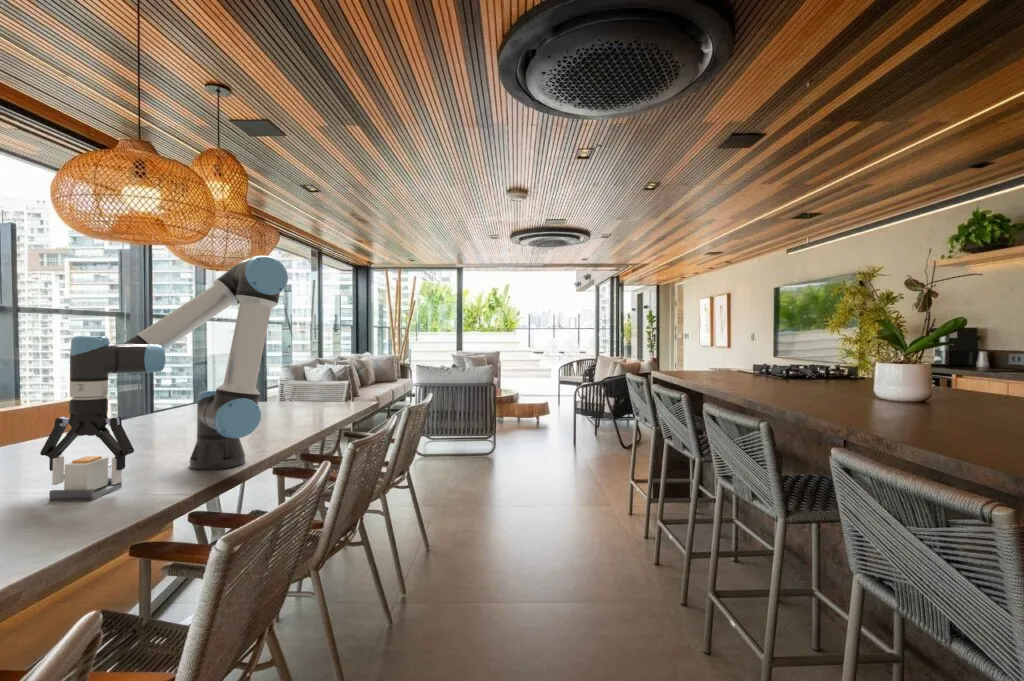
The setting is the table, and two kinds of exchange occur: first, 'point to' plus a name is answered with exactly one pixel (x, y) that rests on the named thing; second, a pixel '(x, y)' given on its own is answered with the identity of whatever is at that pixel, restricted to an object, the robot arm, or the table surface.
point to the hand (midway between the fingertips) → (87, 483)
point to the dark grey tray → (83, 493)
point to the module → (86, 473)
